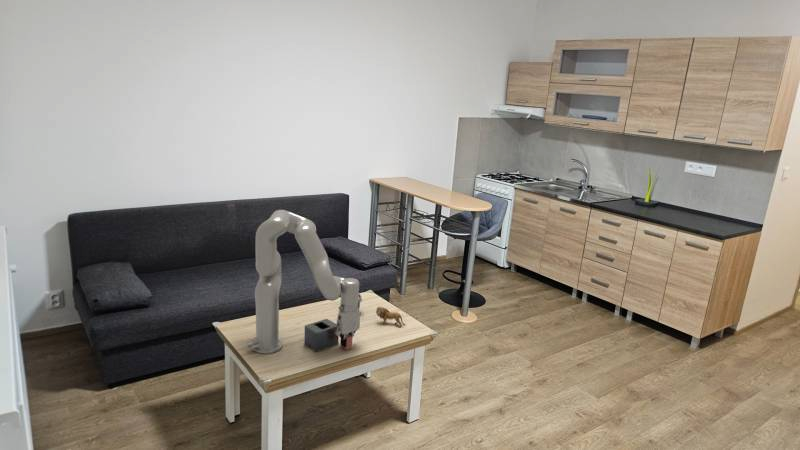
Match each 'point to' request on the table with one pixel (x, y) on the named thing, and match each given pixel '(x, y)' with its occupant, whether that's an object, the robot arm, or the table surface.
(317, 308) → the table surface
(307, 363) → the table surface
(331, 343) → the box
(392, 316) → the lion figurine
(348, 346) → the block
